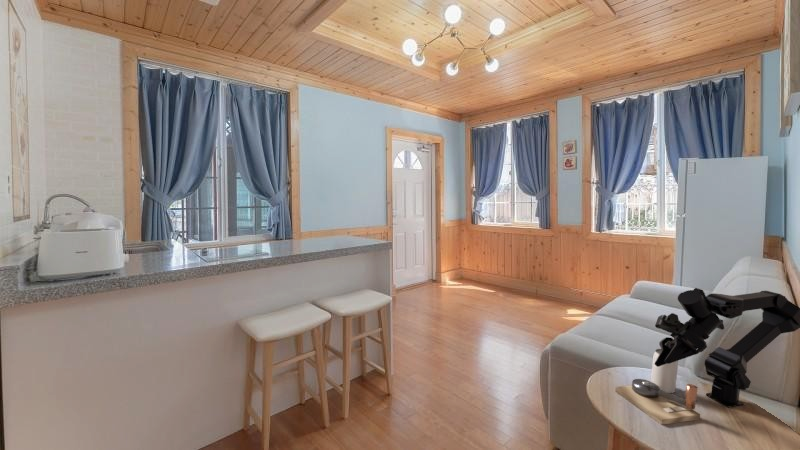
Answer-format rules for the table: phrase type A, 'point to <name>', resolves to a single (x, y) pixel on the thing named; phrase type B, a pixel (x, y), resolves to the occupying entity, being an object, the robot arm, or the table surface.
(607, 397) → the table surface
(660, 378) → the can
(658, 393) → the lever
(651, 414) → the stand
